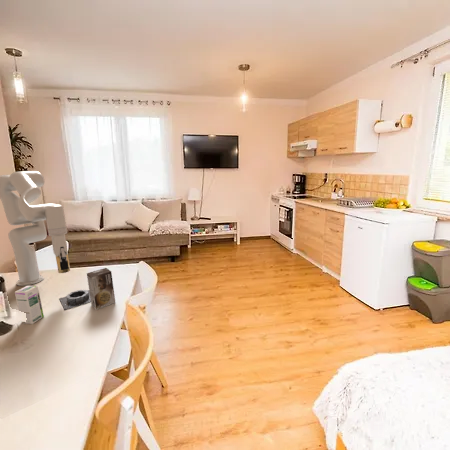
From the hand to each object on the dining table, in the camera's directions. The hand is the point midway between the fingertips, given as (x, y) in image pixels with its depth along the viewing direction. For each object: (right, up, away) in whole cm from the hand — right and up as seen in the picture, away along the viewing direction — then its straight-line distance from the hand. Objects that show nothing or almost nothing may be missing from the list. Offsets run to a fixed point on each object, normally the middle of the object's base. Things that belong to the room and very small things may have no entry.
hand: (63, 267), depth 130 cm
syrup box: (-4, -20, -16) cm, 26 cm away
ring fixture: (+6, -16, +1) cm, 17 cm away
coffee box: (+21, -17, -3) cm, 27 cm away
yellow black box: (0, -2, 0) cm, 2 cm away
